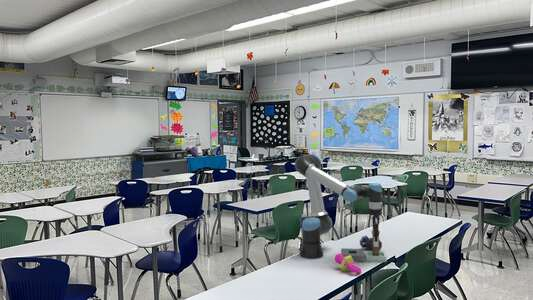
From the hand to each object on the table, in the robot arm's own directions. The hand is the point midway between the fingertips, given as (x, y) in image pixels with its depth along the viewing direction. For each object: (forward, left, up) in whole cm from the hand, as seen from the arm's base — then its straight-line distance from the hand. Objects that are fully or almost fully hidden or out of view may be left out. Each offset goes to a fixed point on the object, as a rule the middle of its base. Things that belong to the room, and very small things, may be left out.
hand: (375, 245), depth 258 cm
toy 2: (-2, +17, -9) cm, 20 cm away
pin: (0, 0, -6) cm, 6 cm away
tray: (0, 0, -9) cm, 9 cm away
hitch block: (-14, 0, -9) cm, 17 cm away
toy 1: (-18, -22, -9) cm, 30 cm away
